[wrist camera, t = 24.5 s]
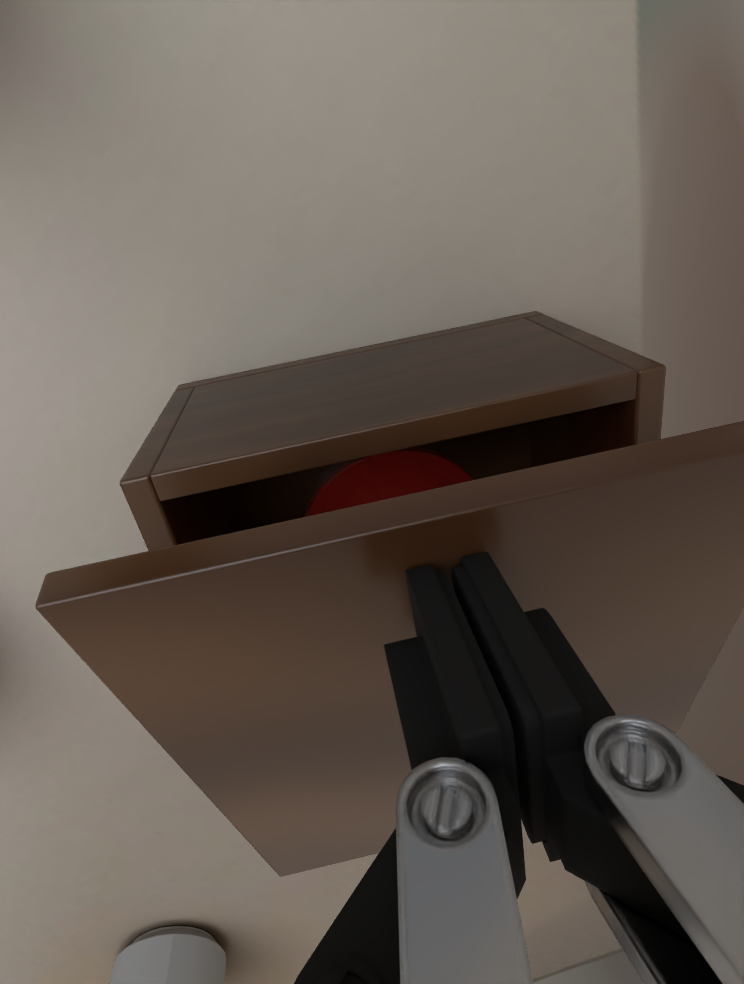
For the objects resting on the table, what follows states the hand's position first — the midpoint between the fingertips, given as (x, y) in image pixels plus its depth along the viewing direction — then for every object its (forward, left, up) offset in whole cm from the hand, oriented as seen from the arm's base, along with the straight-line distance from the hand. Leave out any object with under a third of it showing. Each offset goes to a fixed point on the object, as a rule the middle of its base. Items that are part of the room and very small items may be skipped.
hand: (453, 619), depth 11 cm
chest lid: (+3, +5, -3) cm, 6 cm away
